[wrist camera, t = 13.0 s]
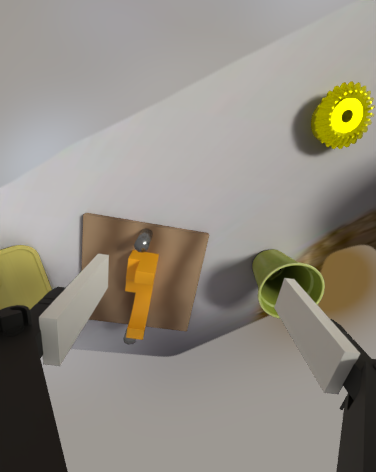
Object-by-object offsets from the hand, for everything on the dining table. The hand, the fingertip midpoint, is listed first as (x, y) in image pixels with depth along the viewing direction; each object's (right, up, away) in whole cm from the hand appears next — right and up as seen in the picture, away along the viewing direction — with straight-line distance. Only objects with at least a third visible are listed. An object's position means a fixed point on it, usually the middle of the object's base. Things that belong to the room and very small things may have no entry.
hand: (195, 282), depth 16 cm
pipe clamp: (-9, -5, +22) cm, 24 cm away
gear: (+20, +20, +15) cm, 33 cm away
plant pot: (+14, -2, +23) cm, 27 cm away
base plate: (-9, -4, +23) cm, 25 cm away
